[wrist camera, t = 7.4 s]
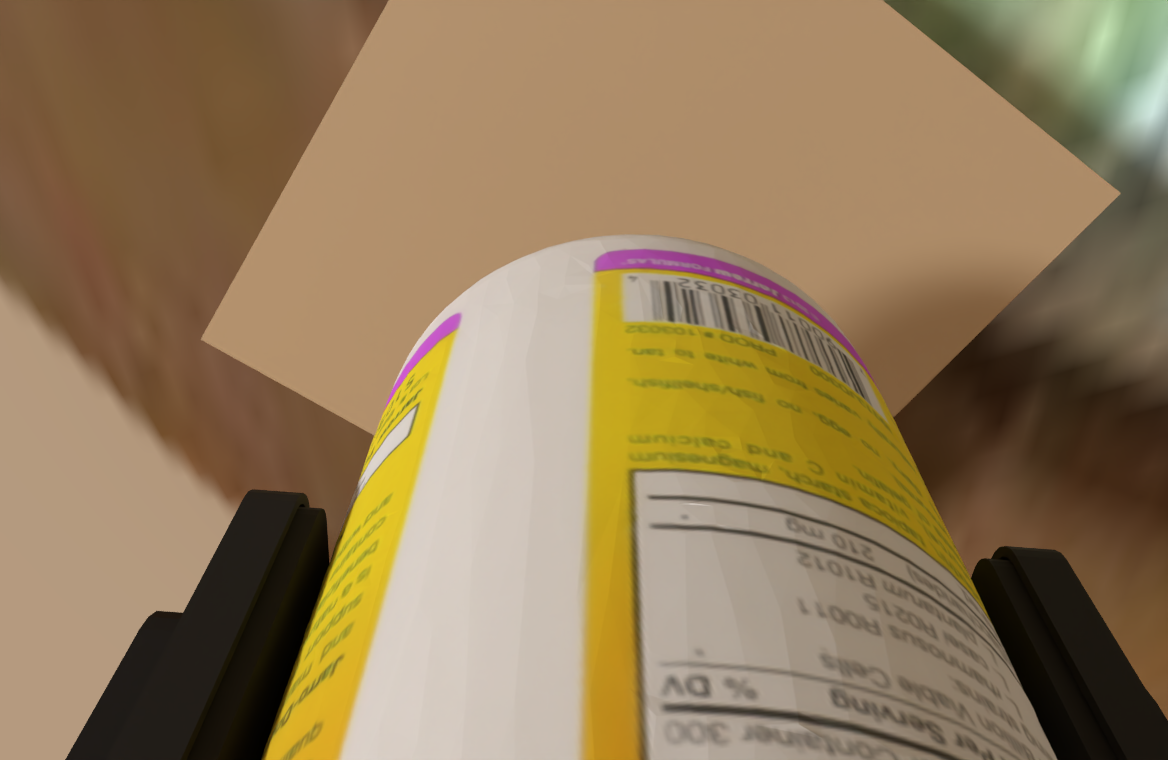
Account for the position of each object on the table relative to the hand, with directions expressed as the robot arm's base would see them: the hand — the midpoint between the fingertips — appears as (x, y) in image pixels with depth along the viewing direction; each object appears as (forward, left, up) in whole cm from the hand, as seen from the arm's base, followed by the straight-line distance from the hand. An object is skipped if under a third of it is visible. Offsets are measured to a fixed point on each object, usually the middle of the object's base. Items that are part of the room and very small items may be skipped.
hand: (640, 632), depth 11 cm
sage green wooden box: (0, 0, -16) cm, 16 cm away
